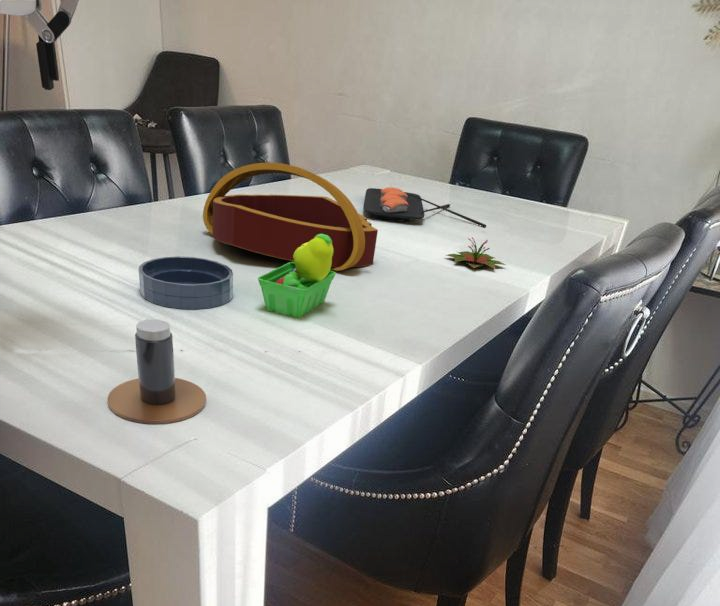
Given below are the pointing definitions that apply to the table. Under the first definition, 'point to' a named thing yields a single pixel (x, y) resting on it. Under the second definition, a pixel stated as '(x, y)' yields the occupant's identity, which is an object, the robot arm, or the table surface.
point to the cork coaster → (132, 408)
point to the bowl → (186, 282)
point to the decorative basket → (288, 219)
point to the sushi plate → (400, 205)
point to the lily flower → (476, 257)
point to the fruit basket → (300, 279)
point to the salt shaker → (155, 362)
